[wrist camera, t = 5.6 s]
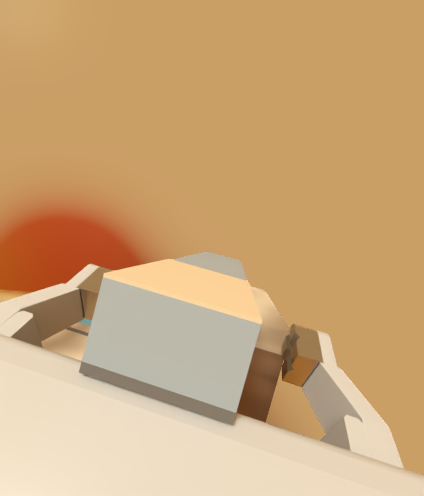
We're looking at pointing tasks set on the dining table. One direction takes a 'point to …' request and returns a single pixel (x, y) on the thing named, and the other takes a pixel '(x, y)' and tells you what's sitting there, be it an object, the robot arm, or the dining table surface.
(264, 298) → the tall stand
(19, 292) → the dining table surface
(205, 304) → the sanding stick
